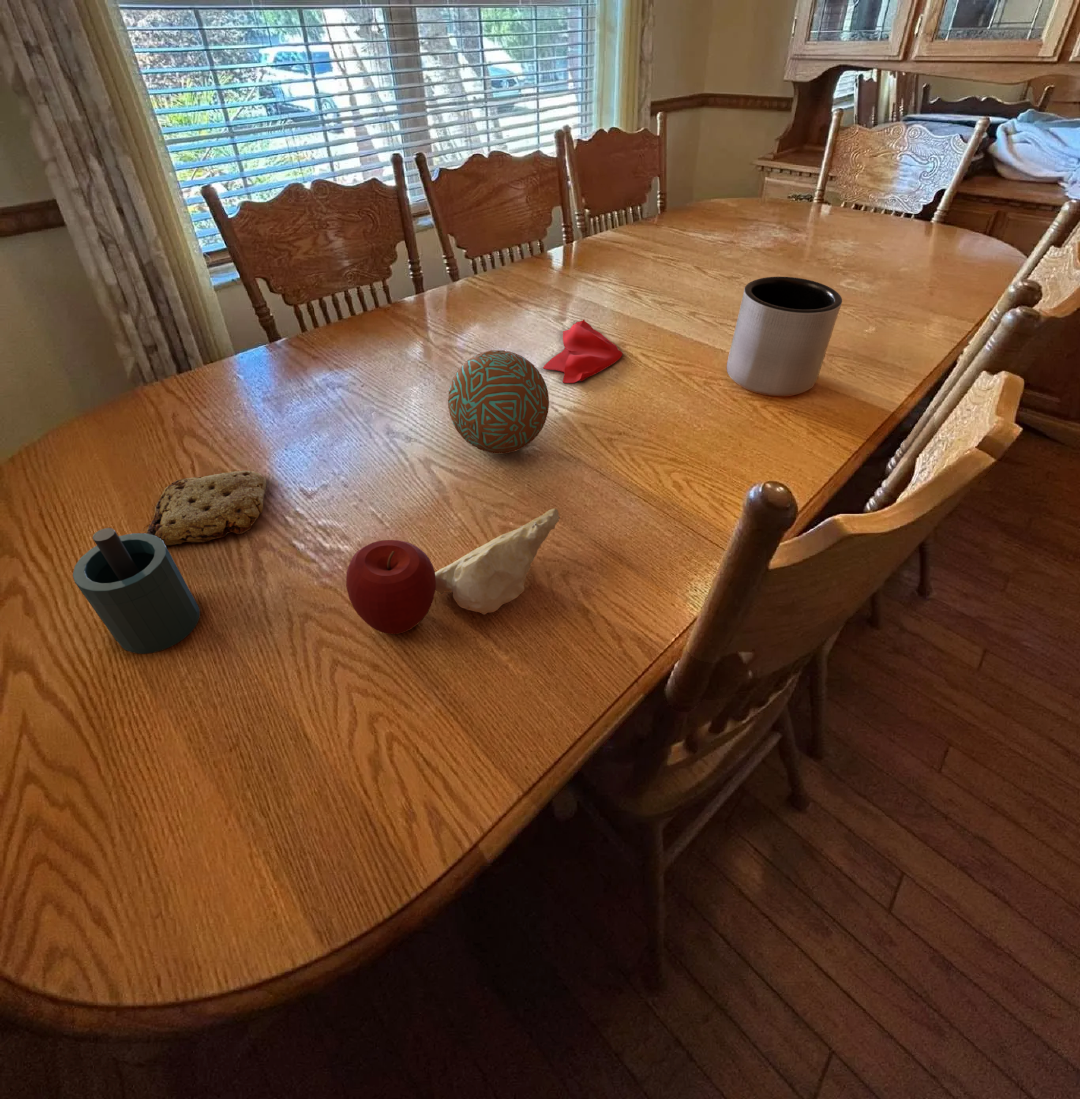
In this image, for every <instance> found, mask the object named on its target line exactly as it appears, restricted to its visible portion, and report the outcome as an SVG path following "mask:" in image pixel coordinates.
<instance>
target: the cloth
mask: <svg viewBox="0 0 1080 1099" xmlns="http://www.w3.org/2000/svg"><path fill="white" fill-rule="evenodd" d="M562 342H563V347H564V349H563V350H562V351H561V352H559V353H558V354H556V355H554V356H553V357H551V359H550V360H548V361H547V362H546V363H545V364H544V366H542V369H543V370H550V371H557V372H561V373H564V374H563V379H562V383H563V384H576V383H578V382H584V381H585V380H586V379H589V378H590V377H592V376H594V375H596V374H598V373H600V372H602V371H604V370H605V369H607V368H608V367H610V366H612V365H614V364H615V363H617V362H618V361H619V360H620V359H621V358H622V357H623V354H624V353H623V352H622V351H621V350H619V348H618V346H617V345H616V344H614V343H613V342H612V341H611V340H609V339H608V338H607V337H606V336H605V335H603V334H602V333H601V332H600V331H598V330H596V329H594V328H593V326H591V325H590V324H589V323H588V322H587V321H586V320H585V319H582V320H580V321H576V322H575V323H573V324H572V325H571V326H570V328H569V329H566V330H563V331H562Z"/></svg>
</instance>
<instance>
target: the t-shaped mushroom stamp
mask: <svg viewBox="0 0 1080 1099" xmlns="http://www.w3.org/2000/svg"><path fill="white" fill-rule="evenodd" d="M118 536H119V535H118V532H117V531H116V530H115V529H114V528H111V527H104V528H101V529H99V530H97V531H96V532H95V533H93V535H92V540H93V542H94V543H95V546H98V548H99V549H100V551H101V553H102V554H103V556H104V557H105V559H106V560H107V562H108V563H109V565H110V567H111V568H112V570H113V571H114V573H115V574H116V576H117V577H118V579H119V581H122V580H125V579H128V578H130V577H133V576H134V575H136V574H138V573H139V570H138V568H137V567H136V565H135V563H134V562H133V560H132V558H131V557H130V555H129V553H128V552H127V550H126V548H125V547H124V545H123V543H122V542H121V540H120V538H119V537H118Z"/></svg>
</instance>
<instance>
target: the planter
mask: <svg viewBox="0 0 1080 1099" xmlns="http://www.w3.org/2000/svg"><path fill="white" fill-rule="evenodd" d="M741 297H742V298H741V301H740V305H739V306H740V307H739V311H738V315H737V319H736V323H735V326H734V327H735V328H734V330H733V331H734V332H733V335H732V340H731V344H730V348H729V352H728V356H727V360H726V373H727V375H728V376H729V377H730V379H731V380H732V381H733V382H735V383H736V384H737V385H738V386H739V387H741V388H743V389H745V390H747V391H749V392H751V393H755V394H759V395H764V396H768V397H791V396H796V395H800V394H803V393H805V392H807V391H809V390H811V389H812V388H813V387H814V386H815V385H816V383H817V380H818V379H819V375H820V372H821V369H822V367H823V363H824V360H825V357H826V353H827V349H828V347H829V343H830V341H831V337H832V334H833V331H834V328H835V325H836V322H837V319H838V315H839V313H840V311H841V307H842V304H843V297H842V295H841V294H840V293H839V292H837V291H836V290H835V289H834V288H832V287H830V286H828V285H826V284H823V283H821V282H819V281H814V280H810V279H806V278H801V277H795V276H767V277H761V278H760V277H759V278H758V279H754V280H751V281H750V282H748V283H747V284H746V285H745V286H744V289H743V293H742V296H741Z"/></svg>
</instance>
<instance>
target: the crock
mask: <svg viewBox="0 0 1080 1099" xmlns="http://www.w3.org/2000/svg"><path fill="white" fill-rule="evenodd" d="M118 537H119V538H120V540H121V542H122V543H123V545H124V547H125V548H126V550H127V552H128V553H129V555H130V557H131V558H132V560H133V562H134V563H135V565H136V567H137V568H138V570H139V573H138V574H136V575H134V576H133V577H130V578H128V579H125V580H122V581H119V579H118V577H117V576H116V574H115V573H114V571H113V570H112V568H111V567H110V565H109V563H108V562H107V560H106V559H105V557H104V556H103V554H102V553H101V551H100V549H99V548H98V546H97V545H95V546H93V547H92V548H90V549H89V550H88V551H86V553H84V554H83V555H82V556H81V557H80V558H79V559H78V561H77V562H76V564H75V565H74V568H73V572H72V578H73V581H74V583H75V585H76V586H77V588H78V589H79V591H80V592H81V593H82V595H83V596H84V598H85V599H86V601H87V602H88V603H89V604H90V606H91V608H92V609H93V611H94V612H95V613H96V615H97V616H98V617H99V618H100V620H101V622H102V624H103V625H105V628H107V630H108V632H109V633H110V634H111V635H112V637H113V638H114V640H115V641H116V642H117V643H118V645H119V646H120V647H121V648H122V649H123V650H125V651H127V652H129V653H133V654H141V655H144V654H145V655H146V654H153V653H158V652H161V651H164V650H168V649H169V648H171V647H173V646H175V645H177V644H178V643H180V642H181V641H183V640H184V639H185V638H187V637H188V636H189V635H190V634H191V633H192V632H193V631H194V629H195V628H196V626H197V625H198V623H199V620H200V616H201V611H200V607H199V605H198V603H197V601H196V599H195V597H194V595H193V594H192V591H191V590H190V588H189V586H188V585H187V583H186V581H185V579H184V577H183V575H182V573H181V571H180V570H179V568H178V566H177V564H176V562H175V560H174V558H173V556H172V555H171V553H170V550H169V549H168V547H167V545H165V544H164V542H163V540H161V539H160V538H158V537H157V536H155V535H150V534H146V532H145V533H144V532H140V533H139V532H137V533H135V532H133V533H127V534H123V535H118Z"/></svg>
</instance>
